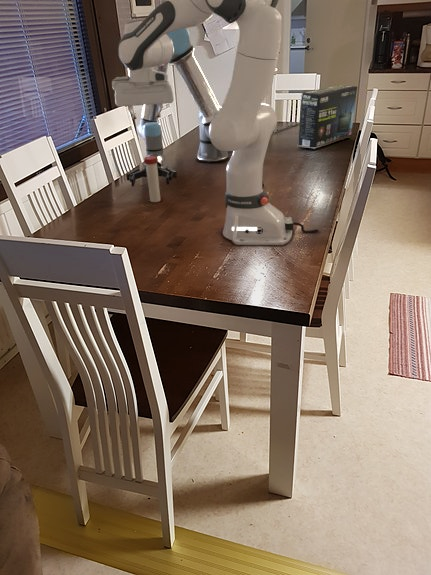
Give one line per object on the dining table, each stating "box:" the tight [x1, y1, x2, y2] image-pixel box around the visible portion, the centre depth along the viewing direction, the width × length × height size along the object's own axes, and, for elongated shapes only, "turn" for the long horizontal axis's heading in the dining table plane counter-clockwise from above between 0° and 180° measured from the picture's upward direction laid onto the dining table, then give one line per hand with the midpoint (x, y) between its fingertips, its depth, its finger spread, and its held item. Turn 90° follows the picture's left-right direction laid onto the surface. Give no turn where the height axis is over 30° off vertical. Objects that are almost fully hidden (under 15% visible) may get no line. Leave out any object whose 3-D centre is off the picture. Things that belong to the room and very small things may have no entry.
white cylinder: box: [146, 163, 162, 203], centre depth 175 cm, size 4×4×16 cm
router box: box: [297, 84, 358, 151], centre depth 238 cm, size 36×11×27 cm, turn 134°
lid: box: [143, 155, 158, 165], centre depth 171 cm, size 5×5×2 cm
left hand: (150, 182), depth 177 cm, fingers open, 13 cm apart
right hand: (146, 118), depth 163 cm, fingers open, 7 cm apart
